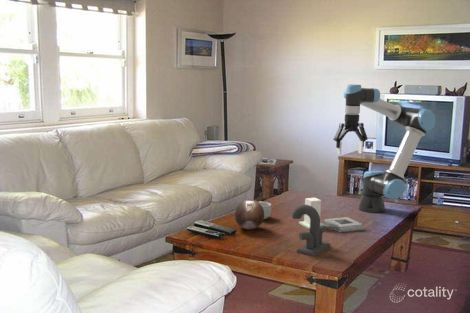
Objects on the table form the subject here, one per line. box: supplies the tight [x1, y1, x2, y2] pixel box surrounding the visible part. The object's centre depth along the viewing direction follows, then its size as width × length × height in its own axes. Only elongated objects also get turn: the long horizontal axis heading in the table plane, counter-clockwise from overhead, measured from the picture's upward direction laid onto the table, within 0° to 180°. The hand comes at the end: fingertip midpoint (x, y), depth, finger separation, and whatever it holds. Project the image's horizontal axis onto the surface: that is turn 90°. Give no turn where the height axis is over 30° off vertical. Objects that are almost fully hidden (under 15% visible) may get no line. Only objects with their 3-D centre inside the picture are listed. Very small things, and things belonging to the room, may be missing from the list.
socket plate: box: [323, 216, 364, 233], centre depth 272 cm, size 14×14×3 cm
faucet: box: [291, 204, 331, 257], centre depth 238 cm, size 18×16×20 cm
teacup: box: [257, 200, 272, 220], centre depth 286 cm, size 14×11×8 cm
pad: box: [298, 220, 326, 230], centre depth 274 cm, size 10×10×1 cm
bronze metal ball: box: [234, 199, 265, 230], centre depth 264 cm, size 15×15×15 cm
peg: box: [303, 197, 322, 225], centre depth 273 cm, size 6×6×13 cm
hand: (349, 153), depth 279 cm, fingers open, 13 cm apart
